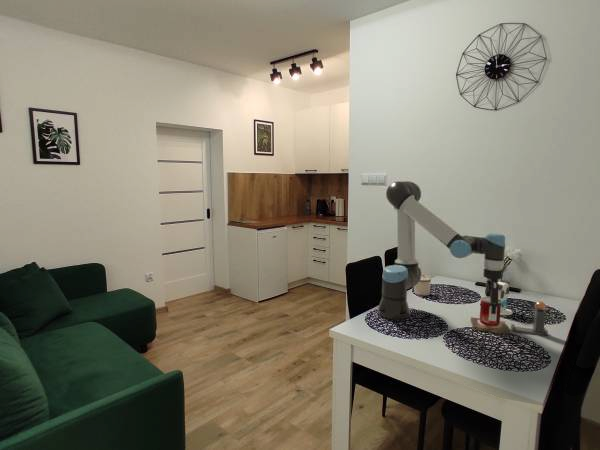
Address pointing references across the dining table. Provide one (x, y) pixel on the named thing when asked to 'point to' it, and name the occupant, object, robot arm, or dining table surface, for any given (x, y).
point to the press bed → (489, 327)
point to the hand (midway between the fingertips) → (490, 315)
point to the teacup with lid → (423, 286)
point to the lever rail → (528, 330)
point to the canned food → (485, 312)
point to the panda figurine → (504, 297)
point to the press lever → (539, 317)
